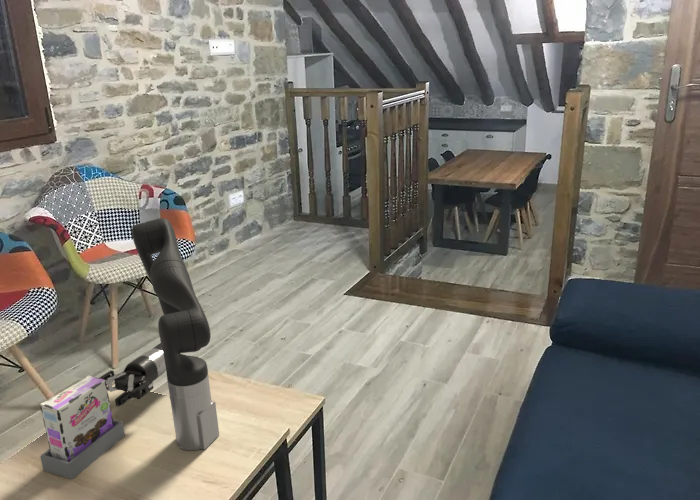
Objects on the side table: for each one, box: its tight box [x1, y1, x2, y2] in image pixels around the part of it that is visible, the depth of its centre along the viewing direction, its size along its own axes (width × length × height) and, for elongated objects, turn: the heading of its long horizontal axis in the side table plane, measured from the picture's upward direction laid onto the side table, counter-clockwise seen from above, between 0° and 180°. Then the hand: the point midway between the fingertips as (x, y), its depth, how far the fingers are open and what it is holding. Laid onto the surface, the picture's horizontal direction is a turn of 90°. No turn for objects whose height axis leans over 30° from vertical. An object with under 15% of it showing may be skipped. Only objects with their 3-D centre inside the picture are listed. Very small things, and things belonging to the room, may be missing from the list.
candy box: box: [39, 375, 114, 462], centre depth 138 cm, size 14×6×16 cm, turn 154°
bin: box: [39, 419, 125, 480], centre depth 140 cm, size 9×17×4 cm, turn 158°
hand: (102, 400), depth 144 cm, fingers open, 8 cm apart
